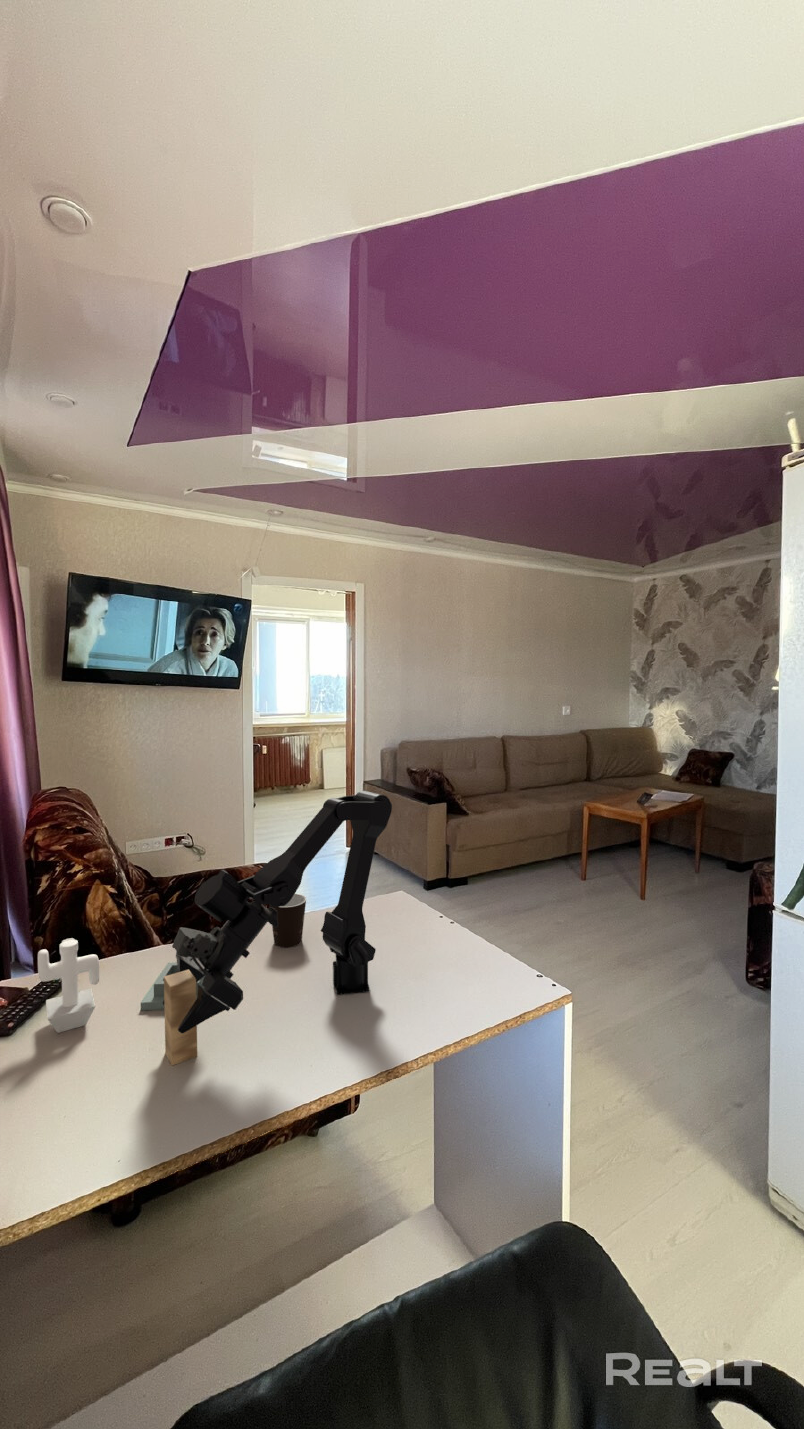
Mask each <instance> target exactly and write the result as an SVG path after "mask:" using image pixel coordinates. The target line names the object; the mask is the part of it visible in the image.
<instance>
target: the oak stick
mask: <svg viewBox="0 0 804 1429" xmlns="http://www.w3.org/2000/svg"><path fill="white" fill-rule="evenodd" d="M195 1001H196V979H195V977H194V976H193V974H192V973H191V972H190V970H189V969H188V970H185V971H181V972H178V973H174V974H171V975H167V976H164V1006H165V1009H164V1042H165V1043H164V1046H165V1047H164V1048H165V1055H166V1056H167V1059H168V1062H169V1063H170V1065H171V1066H175V1065H177V1064H181V1063H183V1062H185V1061H189V1060H191V1059H194V1058H196V1057H198V1025H197V1026H195V1027H193V1028H191V1029H190V1030H188V1031H186V1032H185V1033H180V1032H179V1031H178V1028H179V1026H180V1024H181V1022H182V1021H183V1019H184V1018H185V1016H186V1015H187V1013H188V1012H189V1010H190V1008H191V1007H192V1005H193V1004H194V1002H195Z"/></svg>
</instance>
